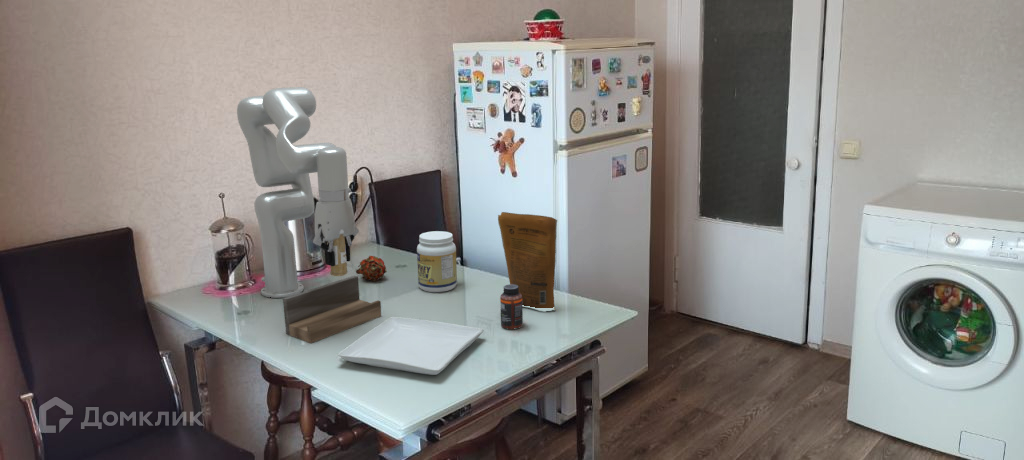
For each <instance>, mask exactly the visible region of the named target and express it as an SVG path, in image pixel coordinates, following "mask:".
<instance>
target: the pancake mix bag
mask: <svg viewBox="0 0 1024 460" xmlns="http://www.w3.org/2000/svg"><path fill="white" fill-rule="evenodd" d="M497 221H498V223H497V224H498V226H499V232H500V234H501V235H500V236H501V244H502V248H503V251H504V258H505V263H506V268H507V276H508V280H509V281H508V282H509V284H514V285H517V286H518V290H519V291H518V292H519V293H520V294H521V295H522V305H524V306H530V307H535V308H553V307H555V294H554V293H555V292H554V290H555V272H556V264H557V263H556V261H557V260H556V258H557V256H556V254H557V229H558V228H557V227H558V226H557V225H558V224H557V223H558V219H556V218H554V217H551V216H546V215H539V214H529V213H527V214H526V213H525V214H524V213H513V212H507V211H501V214H497ZM555 308H556V307H555Z"/></svg>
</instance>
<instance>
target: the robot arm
mask: <svg viewBox="0 0 1024 460" xmlns="http://www.w3.org/2000/svg"><path fill="white" fill-rule="evenodd" d="M316 109H317V100H316V97H315V95H314V93H313V92H312V91H311V90H310V89H308V88H307V87H304V86H303V87H302V86H296V87H293V86H292V87H276V88H272V89H269V90H268V91H266V92H265V93H264V95H253V96H248V97H245V98H243V99H240V101H239V103H238V104H237V108H236V114H237V116H236V117H237V121H238V125H239V126H240V129H241V131H242V133H243V135H244V138H245V140H246V142H247V146H248V150H249V152H248V153H249V157H250V161H251V167H252V168H251V169H252V172H253V177H254V180H255V182H256V184H257V185H258V186H259V187H261V188H273V187H281V186H289V185H291V188H290V189H288V188H287V189H281V190H273V191H268V192H264V193H261V194H260V195H258V196H257V197H256V198H255V201H254V212H255V217H256V219H257V223H258V227H259V232H260V240H261V241H260V242H261V250H262V259H263V260H262V261H263V262H262V263H263V270H264V271H263V272H264V276H262V277H261V279H260V280H261V282H264V286H263V287H262V288H261V290H260V293H261V295H262V296H263V297H265V298H270V297H271V298H272V299H274V298H275V299H278V298H281V299H283V298H285V297H288V296H292V295H295V294H298V293H301V292H304V285H303V284H302V283H300V282H299V281H298V280H299V279H298V271H297V259H296V247H295V246H296V245H295V236H294V234H293V232H292V231H291V229H290V228H288V227H287V226H286V225H285V223H286V222H290V221H297V220H301V219H306V218H310V216H312V215H313V213H314V237H313V239H312V243H313V244H314V245H316V246H318V247H319V248H320V249H321V250H322V251H324V252H323V253H324V261H325V262H324V263H325V265H327V266H335V255H334V251H332V248H333V240H335V239H338V238H339V237H340V235H342V234H344V235H343V236H344V237H345V246H346V260H347V261H346V262H351V246H352V244H353V241H354V239H355V237H356V236H357V235H358V234H359V232H360V231H359V229H358V227H357V226H356V221H355V213H354V207H353V203H352V200H351V198H350V195H349V194H350V193H351V192H352V189H351V188H350V187H349V178H348V160H347V159H348V157H347V152H346V151H347V150H345V149H344V148H343V147H338V146H336V145H335V144H334V143H332V142H317V143H308V144H307V143H306V144H298V145H294V143H296V142H298V141H299V140H301V139H303V138H304V137H305V136H306V135H307V134H308V132H309V131H310V129H311V119H310V117H311V116H313V115H314V114H315V113H316ZM266 125H269V126H270V125H275V127H276V129H277V130H278V132H277V135H275V133H273V132H272V131H271V130H270V128H268V127H267V126H266ZM314 173H315V174H317V185H318V190H317V191H318V200H319V201H317V202H316V204H315V200H314V194H313V189H312V188H313V187H312V183H311V177H310V174H314ZM341 230H343V231H344V233H342V234H339V233H340V231H341Z"/></svg>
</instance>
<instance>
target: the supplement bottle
mask: <svg viewBox="0 0 1024 460" xmlns="http://www.w3.org/2000/svg"><path fill="white" fill-rule="evenodd" d="M518 291H519V290H518V286H517V285H514V284H510V283H508V284H505V285H504V286H503V292H502V293H501V294H500V297H499V301H500V304H499V305H500V326H501V327H502V328H503V329H505V328H508V329H507V330H515V329H514V328H518V329H520V328H522V326H523V324H524V321H523V320H524V319H523V318H524V317H523V315H524V314H523V307H522V295H521V294H520V293H519V292H518ZM519 327H520V328H519Z"/></svg>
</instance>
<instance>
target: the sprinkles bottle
mask: <svg viewBox="0 0 1024 460" xmlns="http://www.w3.org/2000/svg"><path fill="white" fill-rule="evenodd" d="M342 233H344V231H343V230H341V231H340V233H339V234H342ZM343 235H344V234H342V235H340V237H339V238H338V239H335V240H333V248H332V251H334V255H335V266H330V265H329V266H330V275H331V276H333V277H342V276H343V277H344V276H345V275H347V274H348V272H349V271H348V268H347V265H348V263H347V262H348V261H347V260H346V246H345V237H344V236H343Z"/></svg>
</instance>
